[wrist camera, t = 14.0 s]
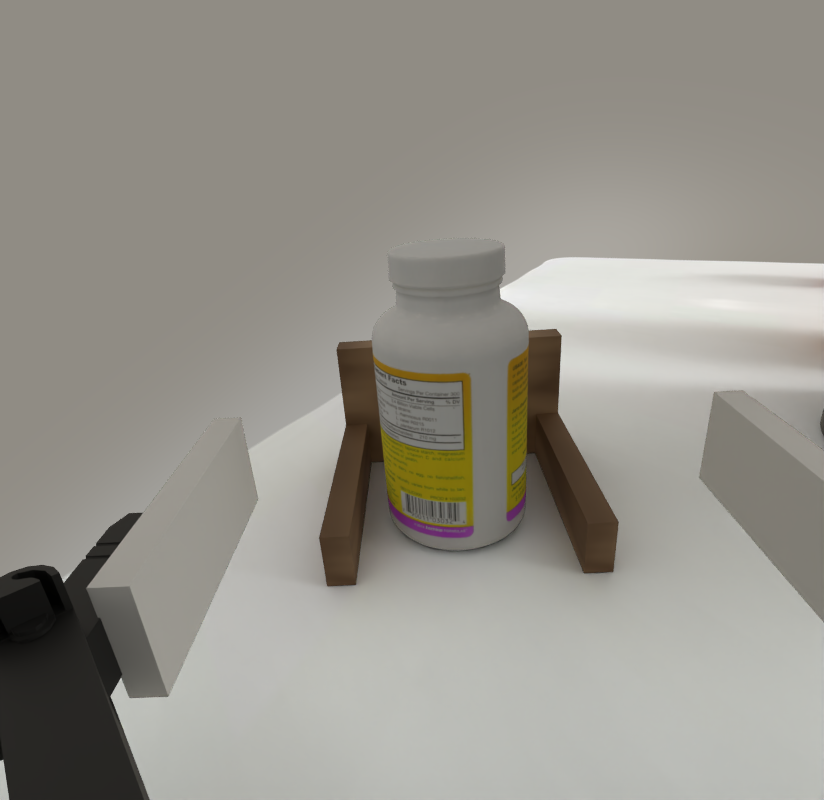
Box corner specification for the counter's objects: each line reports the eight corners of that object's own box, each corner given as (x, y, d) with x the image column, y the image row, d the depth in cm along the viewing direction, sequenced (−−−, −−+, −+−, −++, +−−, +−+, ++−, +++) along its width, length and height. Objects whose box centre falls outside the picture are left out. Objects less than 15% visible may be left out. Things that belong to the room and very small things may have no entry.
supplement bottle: (486, 465, 31) (484, 228, 26) (552, 533, 25) (567, 247, 20) (372, 494, 29) (345, 244, 24) (415, 574, 23) (393, 269, 18)
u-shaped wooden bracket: (551, 441, 33) (556, 329, 30) (613, 571, 23) (629, 420, 20) (353, 453, 33) (339, 342, 31) (327, 586, 23) (303, 438, 20)
